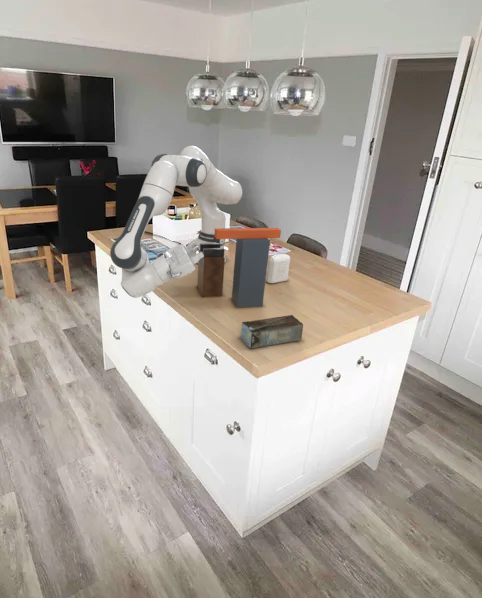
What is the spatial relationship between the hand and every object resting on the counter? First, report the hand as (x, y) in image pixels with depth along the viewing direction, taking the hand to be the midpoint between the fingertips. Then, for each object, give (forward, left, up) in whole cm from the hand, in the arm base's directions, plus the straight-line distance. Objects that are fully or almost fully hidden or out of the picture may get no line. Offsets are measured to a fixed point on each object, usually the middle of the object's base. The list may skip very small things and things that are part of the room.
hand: (200, 249), depth 146 cm
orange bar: (+11, +13, +4) cm, 18 cm away
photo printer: (+9, +43, -22) cm, 49 cm away
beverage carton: (+34, -3, -22) cm, 40 cm away
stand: (+12, +15, -22) cm, 29 cm away
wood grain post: (-5, +13, -22) cm, 26 cm away
